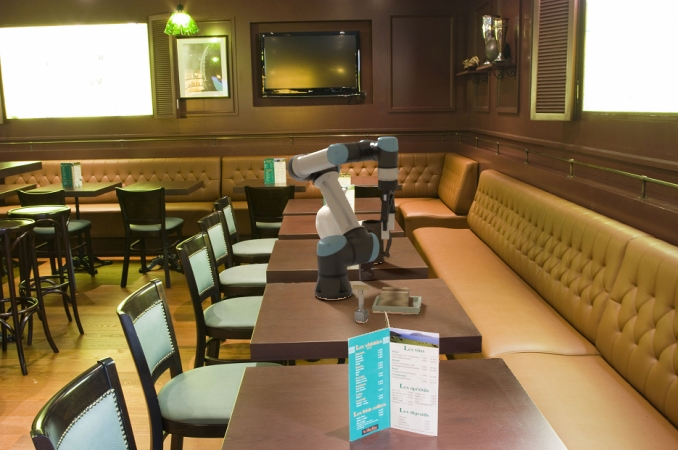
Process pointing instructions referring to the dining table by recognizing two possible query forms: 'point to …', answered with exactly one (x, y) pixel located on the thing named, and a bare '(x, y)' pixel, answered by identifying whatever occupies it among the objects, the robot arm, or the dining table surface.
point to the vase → (326, 222)
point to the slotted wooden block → (396, 297)
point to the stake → (361, 303)
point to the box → (366, 271)
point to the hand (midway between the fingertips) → (388, 234)
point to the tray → (415, 309)
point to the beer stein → (375, 228)
